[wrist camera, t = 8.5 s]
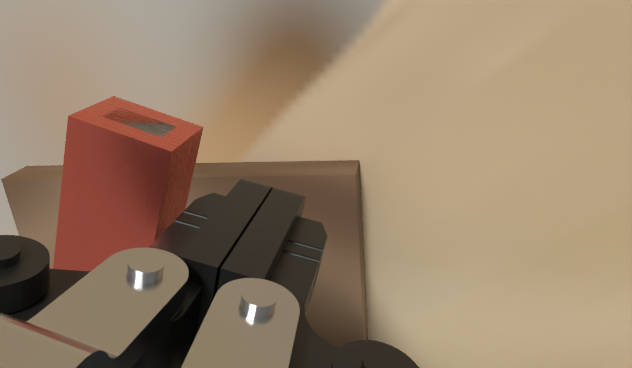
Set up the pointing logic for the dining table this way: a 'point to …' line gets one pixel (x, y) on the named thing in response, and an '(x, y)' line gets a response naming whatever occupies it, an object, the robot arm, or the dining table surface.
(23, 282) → the robot arm
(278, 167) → the mounting board
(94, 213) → the lever
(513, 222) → the dining table surface
